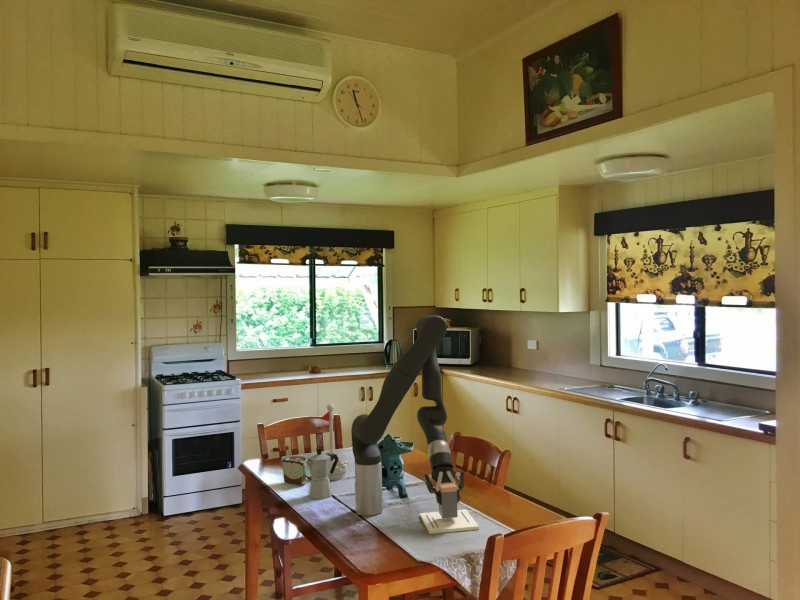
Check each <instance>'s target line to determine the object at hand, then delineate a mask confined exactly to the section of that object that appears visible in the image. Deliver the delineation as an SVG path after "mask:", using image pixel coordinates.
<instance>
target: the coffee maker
mask: <svg viewBox="0 0 800 600" xmlns="http://www.w3.org/2000/svg"><path fill="white" fill-rule="evenodd" d="M315 449H316V454H312V455H311V456H308V457H307V461H306V462H305V463H307V467H308V469H309V474H310V476H311V479H310V486H309V495H308V498H310V499H312V500H325V499H328V498H331V497H332V495H333V492H332V486H331V483H330V482H331V480H329V477H328V475H329V473H331V474H333V472H334V470H335V467H336V465H337V462H338V460H339V457H338V455H337V454H336V453H334V454H330V452H327V453H322V452H323V448H322V447H316V448H315ZM333 459H334V463H333V465H332V468H331V470H330V462H331V461H332V460H333Z"/></svg>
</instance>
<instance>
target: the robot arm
mask: <svg viewBox="0 0 800 600" xmlns="http://www.w3.org/2000/svg"><path fill="white" fill-rule="evenodd" d="M415 331H416V335H417V336H416V337H417V338H416V339H415V341H414V342H413V343H412V345H411V347H409V348H408V349H407V350H406V351H405V352H404V353H403V354H402V355H401V356H400V357H398V359H397V360H396V362H394V364H393V366H392V367H391V368H390V370H389V371H388V373H387V374H386V375H385V378H384V380H383V382H382V385H381V388H380V394H379V398H378V400H377V402H376V404H375V405H374V407H373V409H372V410H371V412H370V413H369V414H367V413H365V414H364V413H363V414H359V415H357V416H356V417H355V418H354V419H353V421H352V424H351V447H352V450H351V451H352V454H353V457H354V477H355V478H354V479H355V480H354V499H355V500H354V501H355V504H354V505H355V506H354V507H355V512H356V514H357V516H358V515H359V516H360V515H361V516H374V515H375V516H376V515H378V514H381V513H383V511H384V507H383V505H384V504H383V502H384V500H383V474H382V473H383V471H382V467H383V466H382V453H381V451H380V449H379V445H378V442H379V441H380V440H381V438H382V437H383V436H384V435H385V432H386V430H387V428H388V425H389V424H390V422H391V420H392V418H393V416H394V414H395V412H396V411H397V410H398V407H400V404H401V403H402V402H403V399H404V398H405V397H406V395H407V393H408V392H409V391H410V389H411V387H412V385H413V384H414V382H415V381H416V379H417V377H418V376H419V374H420V373H421V396H422V398H423V399H424V400H426V401H428V400H429V401H433V402H434V404H435V405H429V406H426V405H425V406H421V407H420V408H418V410H417V412H416V418H417V422H418V424H419V426H420V428H421V429H422V432H423V434H424V436H425V438H426V444H427V445H426V446H427V453H428V459H429V465H430V469H431V473H430V474H427V473H426V474H424V477H423V481H424V483H425V485H426V488H427V490H428V492H429V493H430V494H434V495H435V499H436V503H437V504H438V506H439V505H441V504H442V499H441V493H440V491H439V490H440V488H439V484H441V483H449V482H451V483H454V484H455V485H456V486H457V505H458V504H459V502H460V500H461V495H460V492H462V491H463V489H464V485H465V484H464V483H465V472H464V471H456V470H455V468H454V462H453V459H452V454H451V449H450V446H449V442H448V438H447V433H446V430H445V429H444V428H442V427H441V426H444V425H445V424H446V423H447V420H448V414H447V411H446V406H445V404H444V399H443V393H442V392H443V391H442V388H443V387H442V374H441V368H440V365H439V361H438V357H437V356H438V355H437V346H439V344H440V343H441V341H442V340H443V339H444V338H445V336H446V334H447V331H448V324H447V322H446V320H445V318H443V317H442V316H440V315H434V314H432V315H430V314H429V315H427V314H426V315H423V316H422V317H420V318H419V319H418V321H417V322H416V330H415ZM455 477H456V478H457V479H458V480H459V481H458V484H457V481H456V479H455ZM432 480H433V481H434V482H436V485H435V487H434V486H433V484H432Z"/></svg>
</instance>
